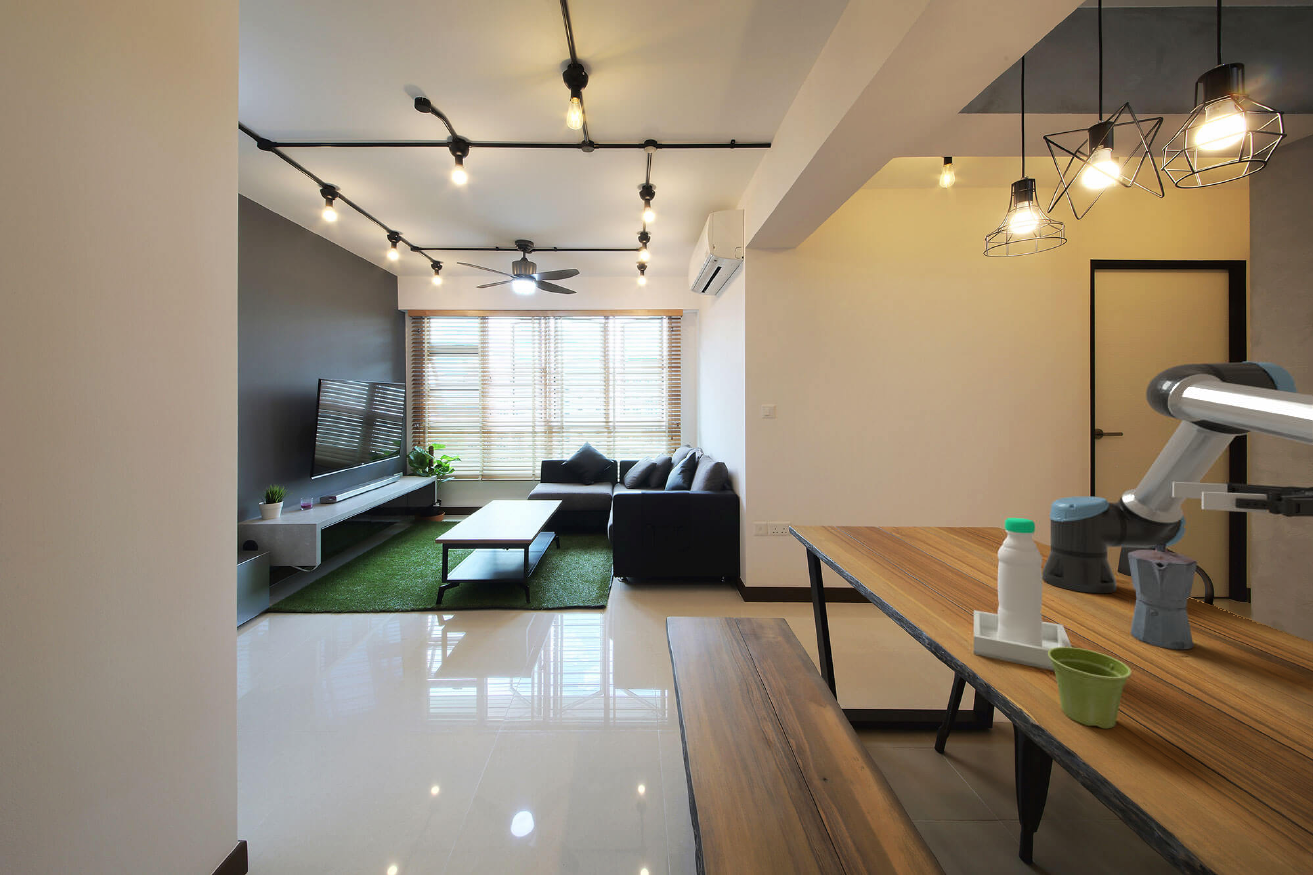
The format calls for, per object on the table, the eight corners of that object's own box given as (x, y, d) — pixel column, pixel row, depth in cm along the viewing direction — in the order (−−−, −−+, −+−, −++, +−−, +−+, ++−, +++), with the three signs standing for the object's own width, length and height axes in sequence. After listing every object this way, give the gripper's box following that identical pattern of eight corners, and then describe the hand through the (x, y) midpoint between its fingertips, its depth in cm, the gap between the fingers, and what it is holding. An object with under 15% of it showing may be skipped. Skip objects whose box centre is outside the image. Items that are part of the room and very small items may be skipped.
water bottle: (1050, 654, 91) (1050, 523, 91) (1008, 651, 93) (1008, 522, 92) (1029, 638, 98) (1029, 516, 98) (990, 635, 100) (990, 515, 99)
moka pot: (1127, 645, 96) (1129, 545, 95) (1125, 621, 107) (1126, 531, 106) (1199, 660, 89) (1201, 553, 89) (1189, 633, 101) (1190, 538, 100)
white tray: (973, 625, 106) (973, 610, 106) (1062, 642, 98) (1062, 624, 98) (973, 653, 93) (973, 636, 93) (1075, 675, 85) (1075, 655, 85)
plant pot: (1109, 744, 67) (1110, 683, 67) (1034, 708, 76) (1034, 653, 76) (1144, 726, 71) (1145, 668, 71) (1068, 693, 80) (1069, 642, 79)
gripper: (1468, 549, 60) (1217, 531, 72) (1341, 515, 81) (1162, 505, 93) (1470, 489, 60) (1218, 480, 72) (1342, 470, 81) (1163, 466, 92)
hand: (1186, 494), depth 82 cm, fingers open, 13 cm apart
